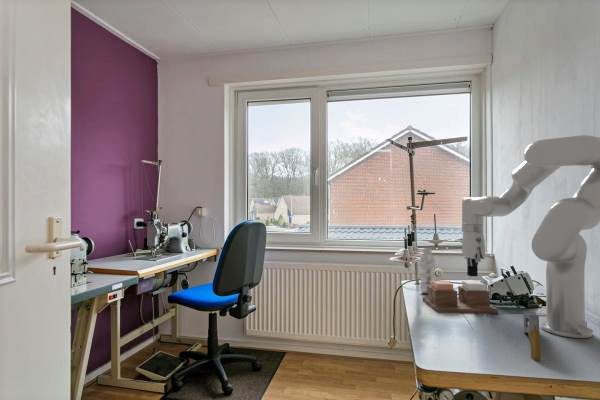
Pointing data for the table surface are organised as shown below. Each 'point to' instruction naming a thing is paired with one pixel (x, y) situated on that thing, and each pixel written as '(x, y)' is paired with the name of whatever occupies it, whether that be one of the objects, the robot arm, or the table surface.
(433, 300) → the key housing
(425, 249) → the plastic bottle
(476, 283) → the white square block
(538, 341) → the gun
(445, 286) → the terracotta key
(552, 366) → the table surface
